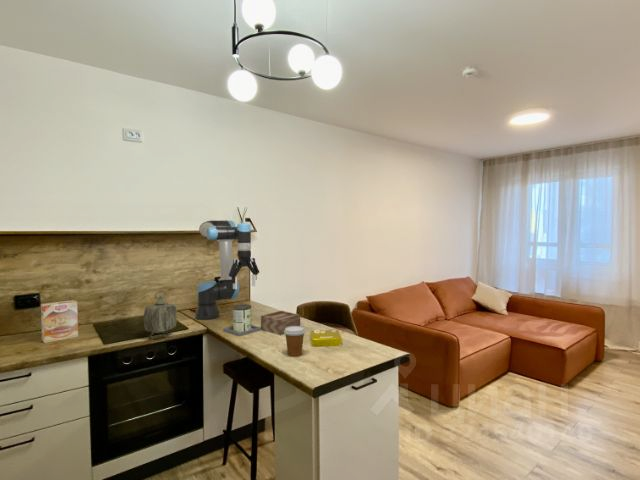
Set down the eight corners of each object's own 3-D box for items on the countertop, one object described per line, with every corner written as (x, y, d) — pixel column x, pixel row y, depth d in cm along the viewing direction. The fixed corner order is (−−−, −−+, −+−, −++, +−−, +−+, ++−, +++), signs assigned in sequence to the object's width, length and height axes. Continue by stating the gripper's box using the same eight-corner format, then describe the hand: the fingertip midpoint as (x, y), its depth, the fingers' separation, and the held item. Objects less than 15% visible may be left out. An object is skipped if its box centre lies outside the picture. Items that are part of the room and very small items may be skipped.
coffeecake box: (44, 343, 181) (43, 305, 180) (41, 340, 186) (40, 303, 185) (78, 336, 192) (77, 301, 191) (75, 334, 197) (74, 299, 196)
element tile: (311, 347, 172) (311, 338, 172) (310, 338, 187) (309, 329, 187) (342, 346, 174) (342, 337, 174) (338, 337, 189) (337, 328, 188)
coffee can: (236, 328, 207) (236, 304, 206) (253, 328, 206) (253, 304, 205) (230, 333, 196) (229, 308, 196) (248, 333, 195) (247, 308, 195)
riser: (261, 329, 203) (260, 315, 202) (281, 324, 215) (281, 310, 214) (280, 335, 192) (279, 320, 192) (300, 328, 204) (300, 314, 204)
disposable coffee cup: (284, 351, 167) (284, 326, 166) (304, 350, 168) (304, 325, 167) (284, 358, 157) (284, 331, 157) (305, 357, 158) (305, 331, 158)
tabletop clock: (167, 332, 199) (166, 288, 198) (178, 334, 194) (177, 289, 194) (144, 339, 186) (143, 292, 185) (155, 342, 182) (154, 294, 181)
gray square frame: (223, 331, 200) (223, 328, 200) (244, 325, 212) (244, 323, 212) (239, 336, 190) (239, 333, 190) (260, 330, 202) (260, 327, 202)
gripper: (230, 251, 189) (230, 291, 189) (265, 249, 208) (265, 285, 209) (221, 251, 193) (222, 289, 194) (256, 249, 213) (257, 283, 213)
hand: (244, 287), depth 201 cm, fingers open, 13 cm apart
